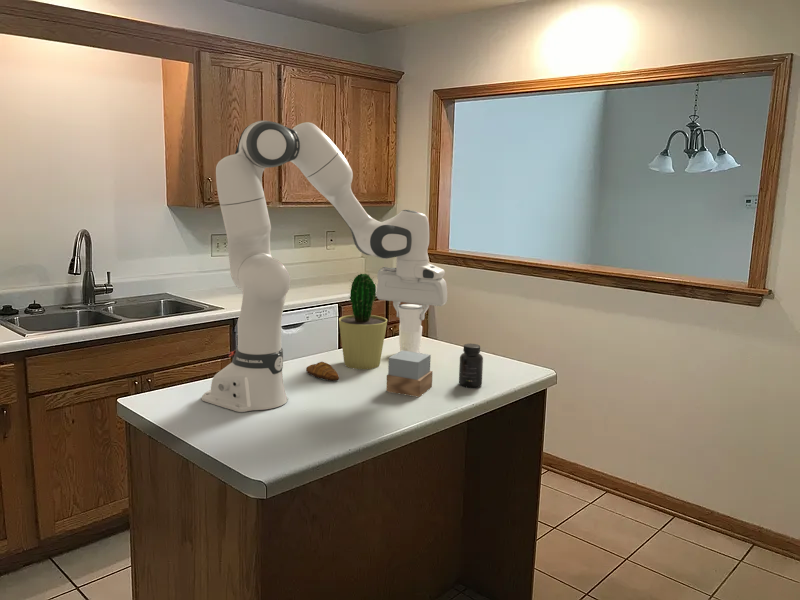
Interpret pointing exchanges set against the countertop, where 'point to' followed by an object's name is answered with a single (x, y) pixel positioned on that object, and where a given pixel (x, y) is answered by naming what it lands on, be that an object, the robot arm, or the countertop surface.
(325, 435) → the countertop surface
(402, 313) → the white piece
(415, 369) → the top block
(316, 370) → the croissant
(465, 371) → the supplement bottle
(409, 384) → the bottom block
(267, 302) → the robot arm
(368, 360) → the potted cactus
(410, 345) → the white cup
